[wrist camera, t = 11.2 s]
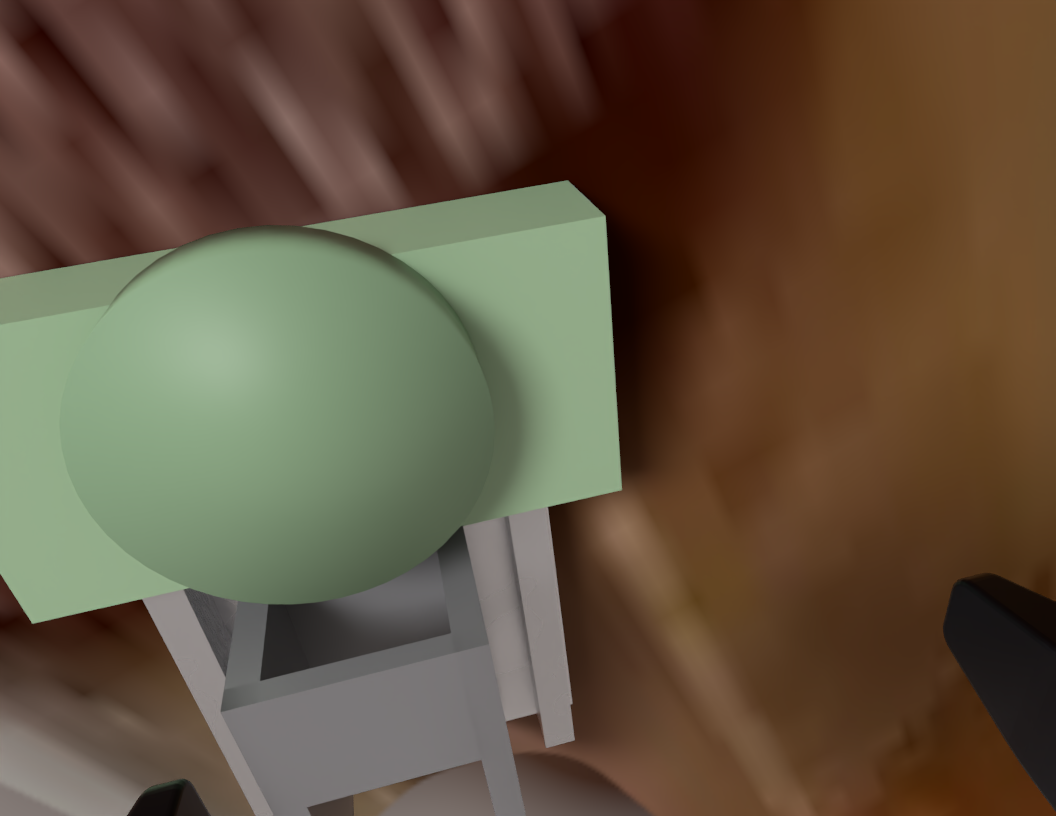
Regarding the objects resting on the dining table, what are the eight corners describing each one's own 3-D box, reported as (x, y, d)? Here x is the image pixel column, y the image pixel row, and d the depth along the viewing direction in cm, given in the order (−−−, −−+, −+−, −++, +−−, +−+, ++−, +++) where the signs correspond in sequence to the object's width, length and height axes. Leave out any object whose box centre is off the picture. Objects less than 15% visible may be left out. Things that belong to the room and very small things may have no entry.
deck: (563, 137, 17) (627, 184, 14) (610, 684, 27) (654, 800, 23) (-93, 244, 16) (-232, 334, 12) (210, 787, 26) (187, 931, 22)
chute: (459, 510, 22) (488, 643, 17) (503, 713, 26) (534, 857, 22) (244, 560, 21) (220, 712, 17) (328, 759, 26) (326, 917, 21)
